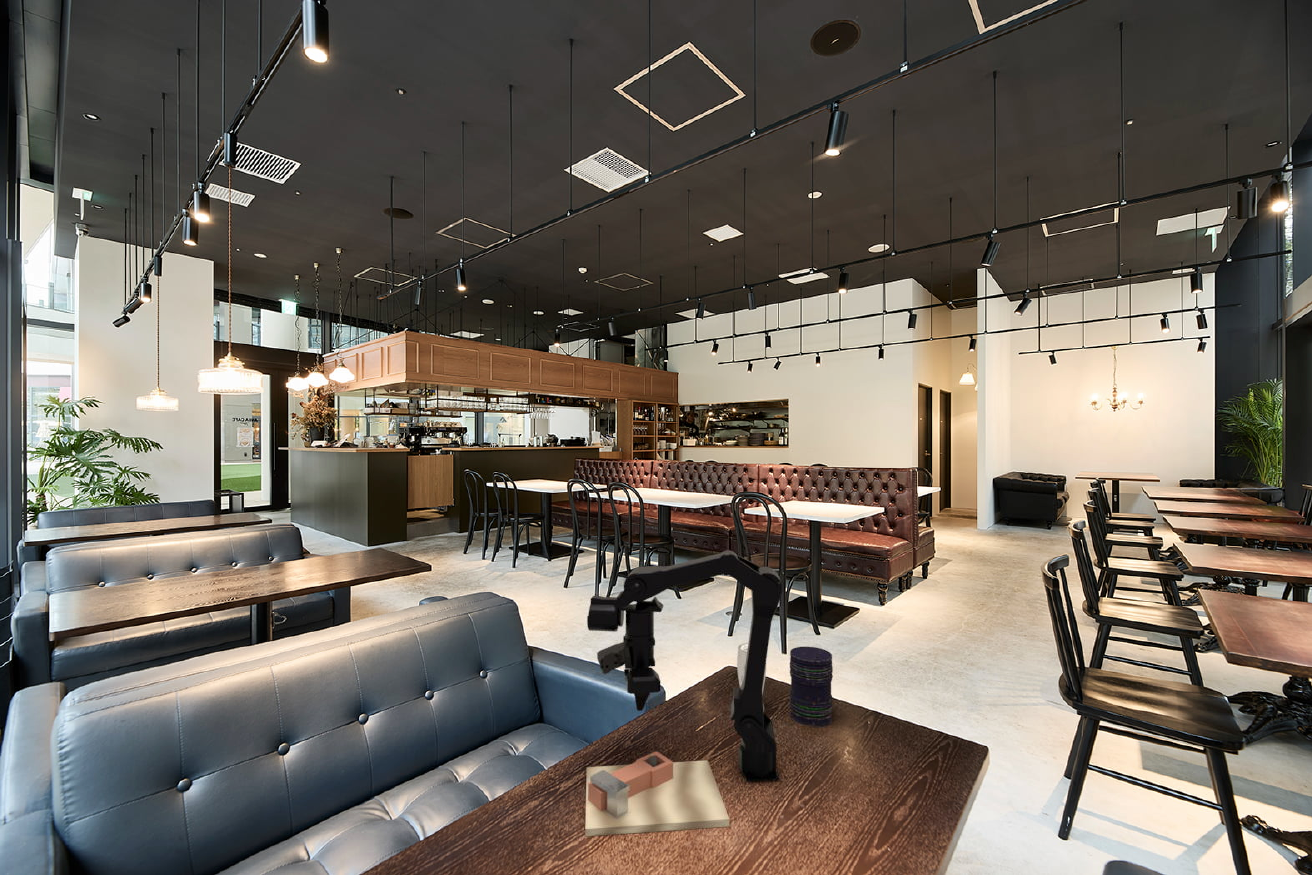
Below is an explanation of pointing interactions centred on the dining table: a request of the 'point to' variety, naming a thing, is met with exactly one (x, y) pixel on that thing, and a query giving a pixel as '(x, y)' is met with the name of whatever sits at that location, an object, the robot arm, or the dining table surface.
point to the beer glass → (742, 662)
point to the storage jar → (811, 686)
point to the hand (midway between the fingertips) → (639, 709)
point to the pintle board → (663, 803)
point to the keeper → (613, 792)
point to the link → (635, 778)
